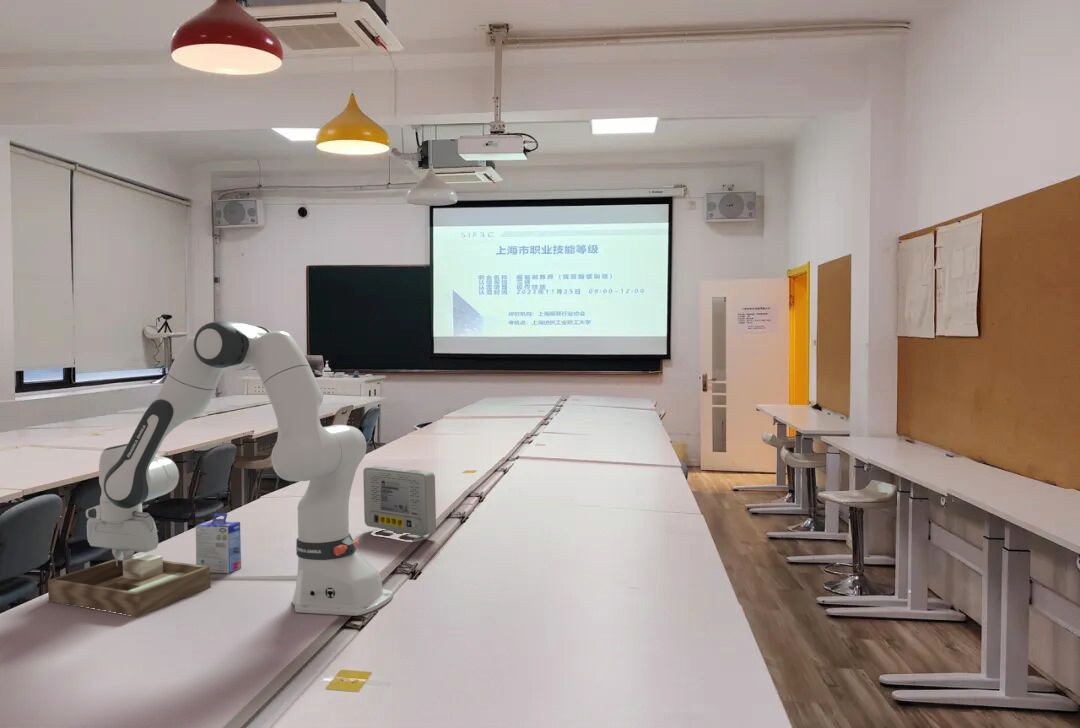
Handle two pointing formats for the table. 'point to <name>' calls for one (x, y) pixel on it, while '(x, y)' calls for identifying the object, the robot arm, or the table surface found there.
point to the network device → (400, 500)
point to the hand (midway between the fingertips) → (123, 566)
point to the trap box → (128, 587)
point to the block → (142, 567)
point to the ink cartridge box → (219, 545)
